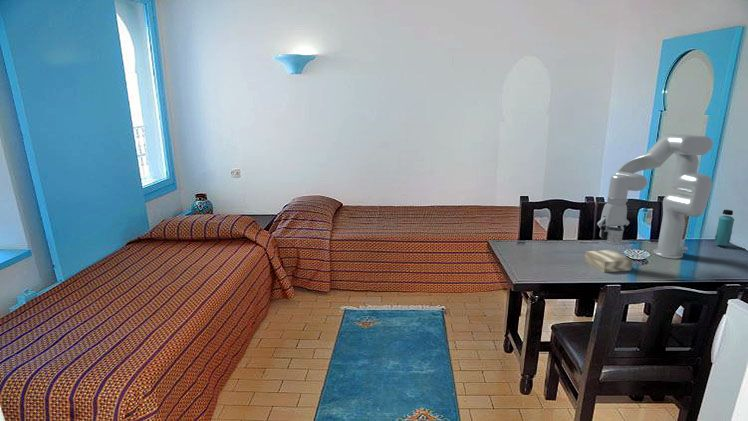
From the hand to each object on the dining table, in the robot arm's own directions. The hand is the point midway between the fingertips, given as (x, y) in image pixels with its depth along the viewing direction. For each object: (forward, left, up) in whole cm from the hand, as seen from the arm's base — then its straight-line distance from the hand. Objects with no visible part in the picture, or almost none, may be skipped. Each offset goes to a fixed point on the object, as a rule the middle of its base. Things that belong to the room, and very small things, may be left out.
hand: (611, 238), depth 201 cm
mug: (+1, 0, -2) cm, 2 cm away
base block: (0, 0, -13) cm, 13 cm away
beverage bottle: (-78, -14, -14) cm, 81 cm away
